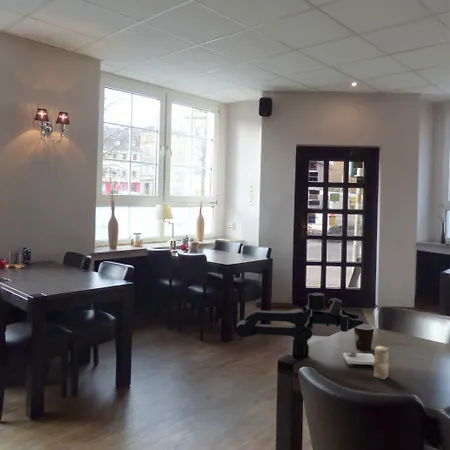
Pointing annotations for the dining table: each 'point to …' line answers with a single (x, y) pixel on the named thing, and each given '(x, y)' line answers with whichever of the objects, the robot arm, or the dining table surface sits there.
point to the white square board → (359, 359)
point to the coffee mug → (363, 337)
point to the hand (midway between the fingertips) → (360, 319)
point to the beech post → (381, 362)
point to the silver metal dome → (351, 354)
